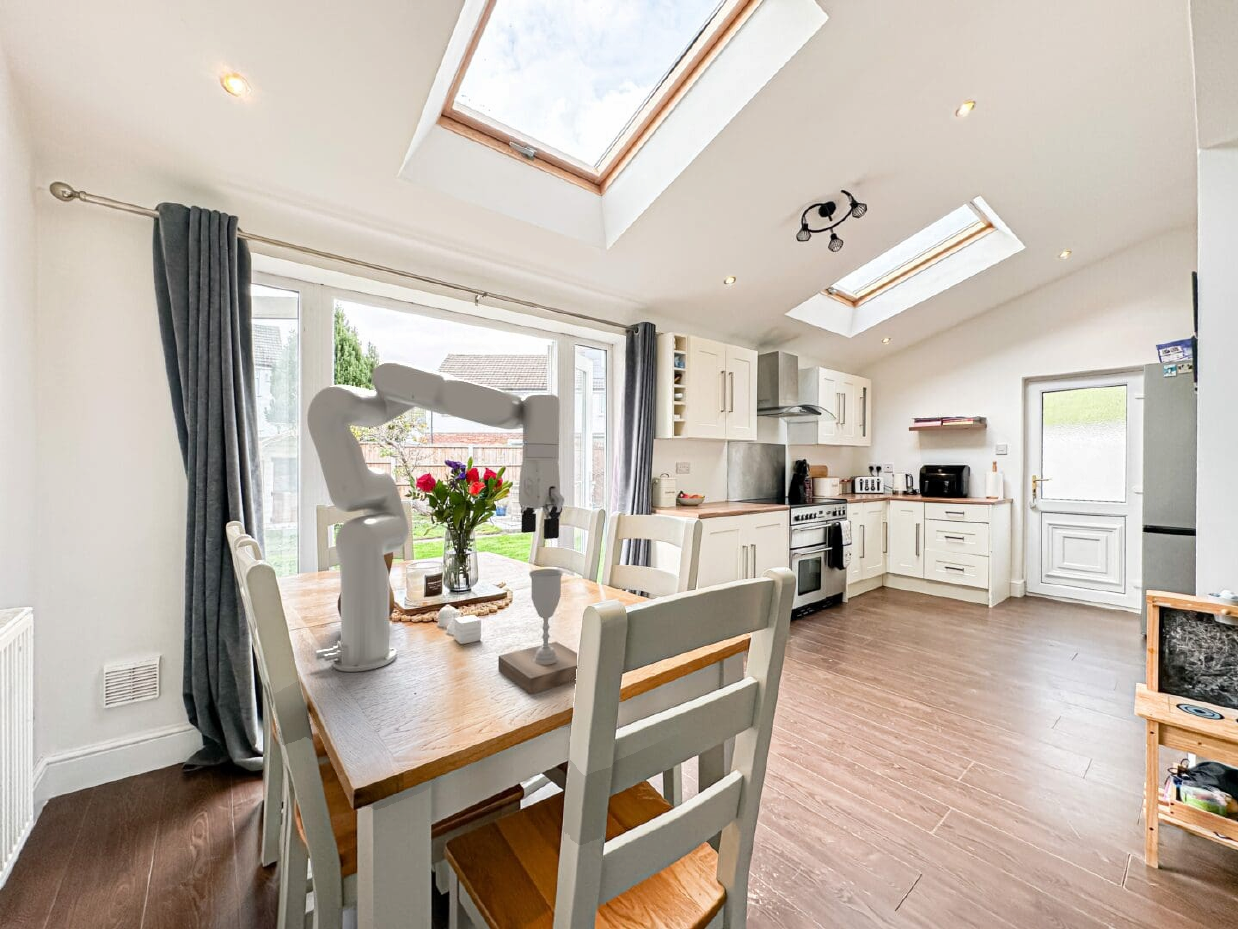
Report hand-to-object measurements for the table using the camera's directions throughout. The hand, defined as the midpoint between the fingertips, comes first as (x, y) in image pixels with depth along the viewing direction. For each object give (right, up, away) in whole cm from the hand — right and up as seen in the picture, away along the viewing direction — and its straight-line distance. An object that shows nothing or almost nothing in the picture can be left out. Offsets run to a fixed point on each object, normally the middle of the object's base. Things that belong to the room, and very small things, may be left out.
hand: (539, 535), depth 109 cm
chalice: (+1, -26, -2) cm, 26 cm away
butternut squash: (-49, -28, +26) cm, 62 cm away
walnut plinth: (+1, -29, -1) cm, 28 cm away
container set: (-25, -28, +24) cm, 45 cm away
